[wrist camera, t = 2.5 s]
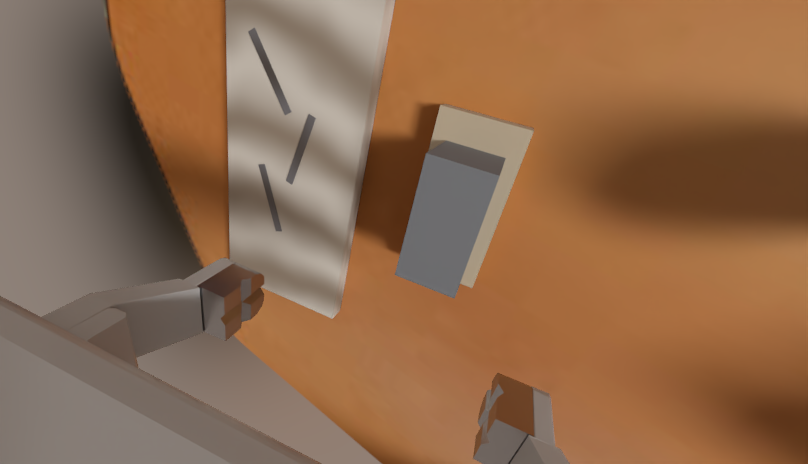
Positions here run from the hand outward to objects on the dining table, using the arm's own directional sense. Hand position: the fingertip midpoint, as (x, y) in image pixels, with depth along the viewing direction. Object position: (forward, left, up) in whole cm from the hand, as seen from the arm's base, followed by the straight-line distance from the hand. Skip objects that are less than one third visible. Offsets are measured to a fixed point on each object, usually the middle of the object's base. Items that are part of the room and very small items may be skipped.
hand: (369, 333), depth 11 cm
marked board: (0, +14, -16) cm, 21 cm away
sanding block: (0, 0, -17) cm, 17 cm away
